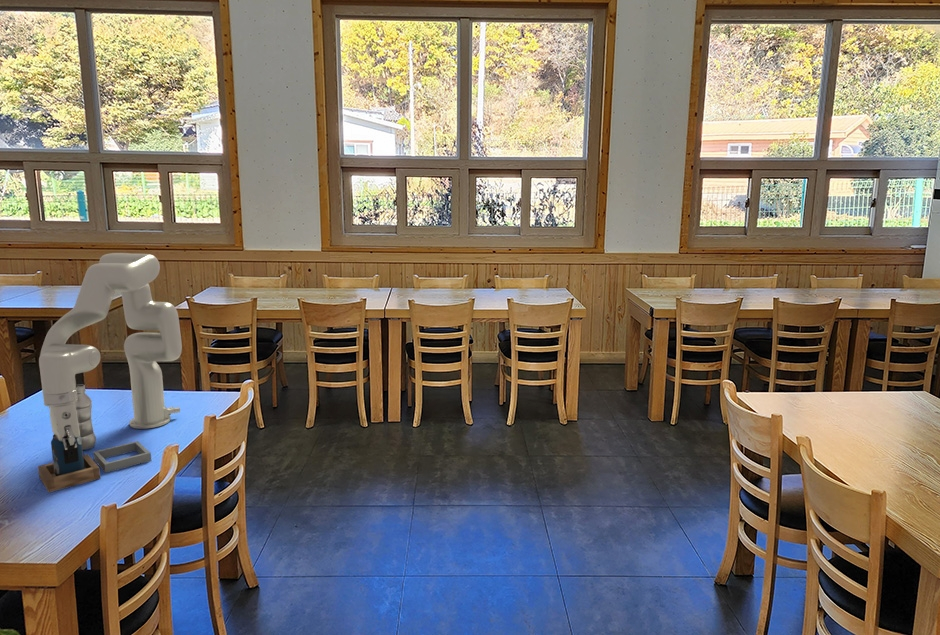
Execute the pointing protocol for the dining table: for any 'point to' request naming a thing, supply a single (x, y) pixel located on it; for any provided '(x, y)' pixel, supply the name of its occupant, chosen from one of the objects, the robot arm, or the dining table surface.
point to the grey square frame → (125, 462)
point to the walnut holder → (68, 475)
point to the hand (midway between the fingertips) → (67, 456)
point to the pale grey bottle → (84, 418)
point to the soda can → (58, 457)
